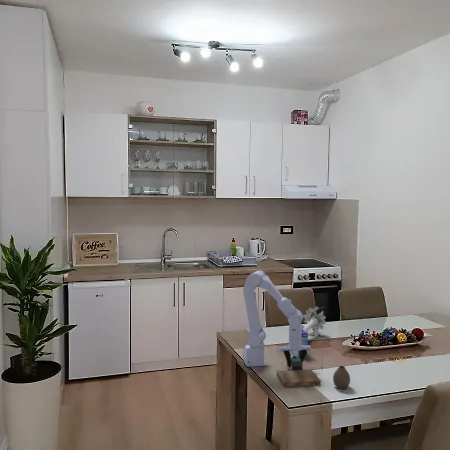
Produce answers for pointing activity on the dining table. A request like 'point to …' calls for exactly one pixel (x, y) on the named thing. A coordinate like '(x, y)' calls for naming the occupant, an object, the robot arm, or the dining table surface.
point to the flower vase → (314, 321)
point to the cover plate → (295, 358)
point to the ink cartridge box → (302, 341)
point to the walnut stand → (298, 378)
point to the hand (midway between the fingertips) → (294, 366)
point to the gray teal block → (296, 365)
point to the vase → (341, 378)
